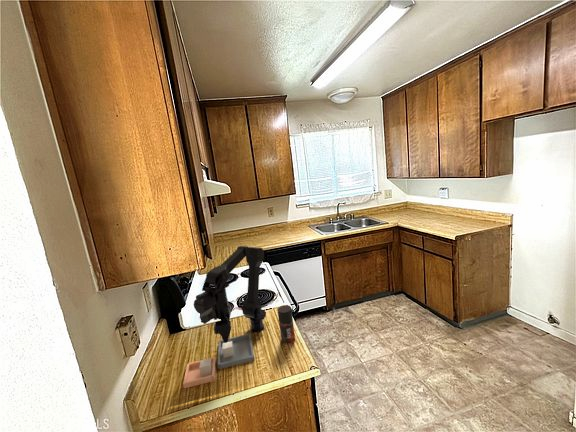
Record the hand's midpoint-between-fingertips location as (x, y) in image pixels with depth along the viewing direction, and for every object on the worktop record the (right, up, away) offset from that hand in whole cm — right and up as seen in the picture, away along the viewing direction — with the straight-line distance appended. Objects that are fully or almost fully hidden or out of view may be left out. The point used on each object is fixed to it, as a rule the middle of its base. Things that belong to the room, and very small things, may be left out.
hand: (226, 335), depth 111 cm
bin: (+4, -8, +2) cm, 9 cm away
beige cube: (+1, -8, +1) cm, 8 cm away
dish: (-8, -11, -8) cm, 16 cm away
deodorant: (+26, -5, +6) cm, 27 cm away
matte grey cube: (-5, -10, -8) cm, 14 cm away
